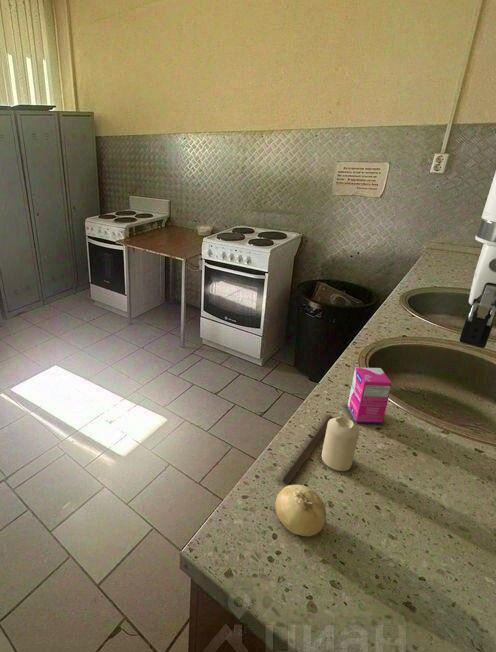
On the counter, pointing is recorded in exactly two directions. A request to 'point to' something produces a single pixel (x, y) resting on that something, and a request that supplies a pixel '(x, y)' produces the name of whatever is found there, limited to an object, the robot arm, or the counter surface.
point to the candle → (340, 443)
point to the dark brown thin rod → (306, 453)
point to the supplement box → (369, 395)
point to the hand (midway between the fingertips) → (475, 333)
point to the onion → (300, 510)
